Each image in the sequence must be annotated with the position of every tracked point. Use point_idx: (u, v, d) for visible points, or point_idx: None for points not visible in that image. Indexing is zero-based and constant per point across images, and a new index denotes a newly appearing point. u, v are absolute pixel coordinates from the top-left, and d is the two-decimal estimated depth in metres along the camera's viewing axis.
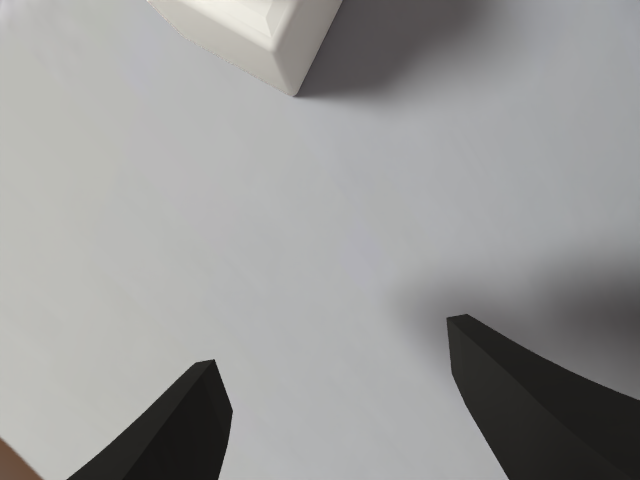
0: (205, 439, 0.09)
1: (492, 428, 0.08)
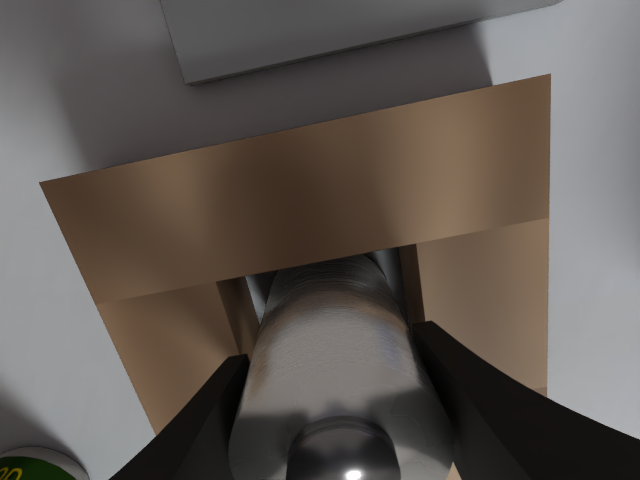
0: None
1: None
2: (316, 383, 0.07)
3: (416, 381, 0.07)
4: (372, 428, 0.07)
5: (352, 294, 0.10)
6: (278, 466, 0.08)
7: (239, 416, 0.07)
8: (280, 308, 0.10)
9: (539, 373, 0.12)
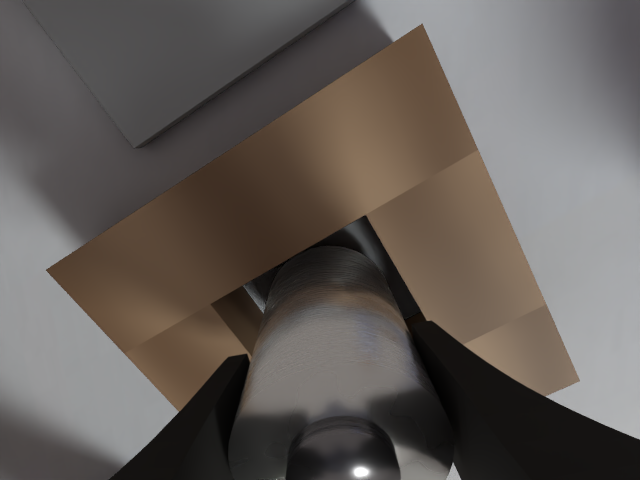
0: None
1: None
2: (316, 383, 0.07)
3: (417, 382, 0.07)
4: (372, 429, 0.07)
5: (353, 295, 0.10)
6: (278, 466, 0.08)
7: (239, 416, 0.07)
8: (280, 308, 0.10)
9: (533, 294, 0.12)
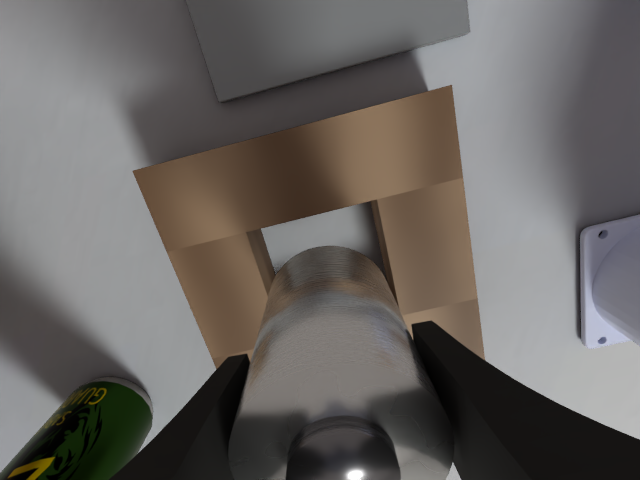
0: None
1: None
2: (316, 383, 0.07)
3: (417, 381, 0.07)
4: (372, 428, 0.07)
5: (352, 295, 0.10)
6: (278, 466, 0.08)
7: (239, 416, 0.07)
8: (281, 308, 0.10)
9: (470, 288, 0.17)
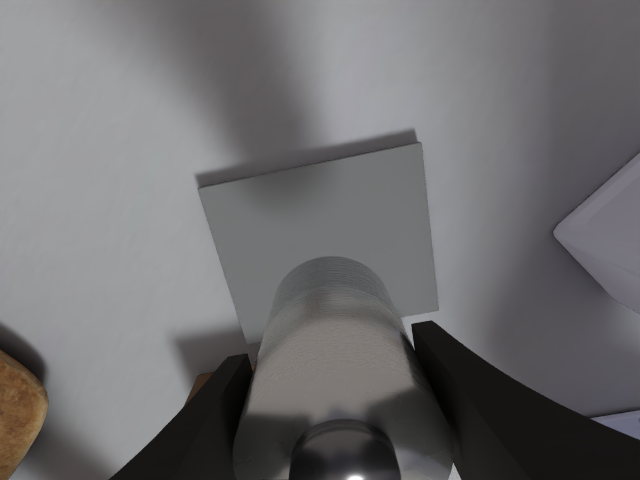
0: None
1: None
2: (323, 385, 0.07)
3: (420, 388, 0.07)
4: (375, 432, 0.07)
5: (358, 303, 0.10)
6: (280, 467, 0.08)
7: (246, 414, 0.07)
8: (287, 313, 0.10)
9: None
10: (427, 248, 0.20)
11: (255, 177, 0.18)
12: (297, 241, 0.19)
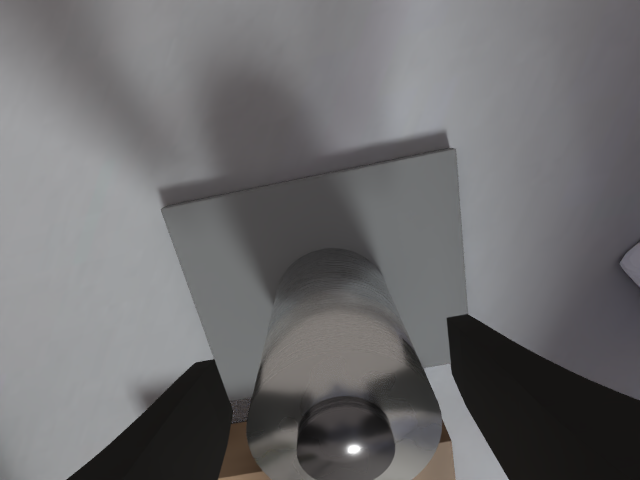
0: (205, 439, 0.09)
1: (492, 428, 0.08)
2: (327, 367, 0.08)
3: (413, 369, 0.08)
4: (373, 408, 0.08)
5: (357, 293, 0.11)
6: (288, 438, 0.09)
7: (259, 392, 0.08)
8: (292, 302, 0.11)
9: None
10: (459, 284, 0.15)
11: (236, 194, 0.14)
12: None
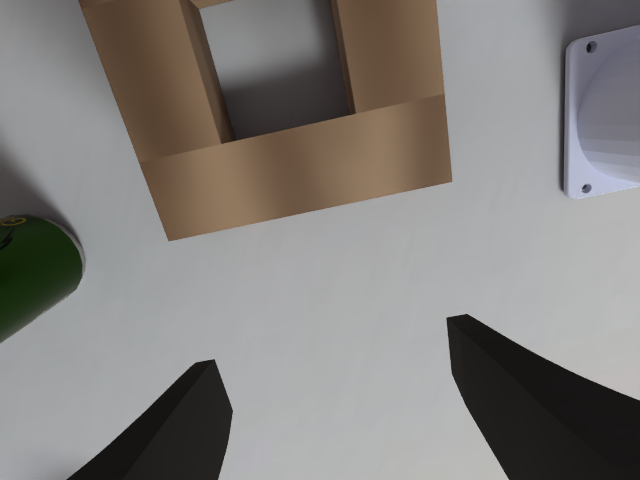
0: (205, 439, 0.09)
1: (492, 428, 0.08)
2: None
3: None
4: None
5: None
6: None
7: None
8: None
9: (436, 79, 0.15)
10: None
11: None
12: None
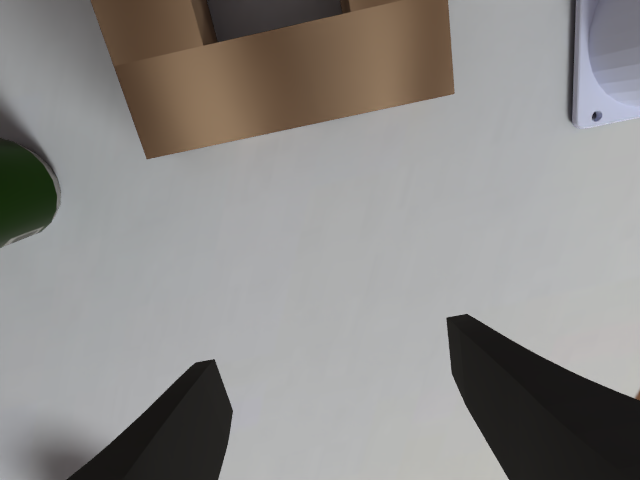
0: (205, 439, 0.09)
1: (492, 428, 0.08)
2: None
3: None
4: None
5: None
6: None
7: None
8: None
9: None
10: None
11: None
12: None
